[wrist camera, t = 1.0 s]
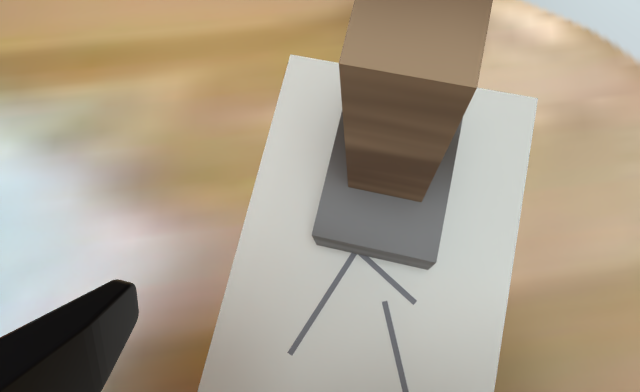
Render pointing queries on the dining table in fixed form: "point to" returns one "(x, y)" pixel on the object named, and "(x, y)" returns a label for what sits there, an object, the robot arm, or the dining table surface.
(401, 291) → the primed board
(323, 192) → the brown post on stand
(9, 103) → the dining table surface
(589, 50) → the dining table surface
